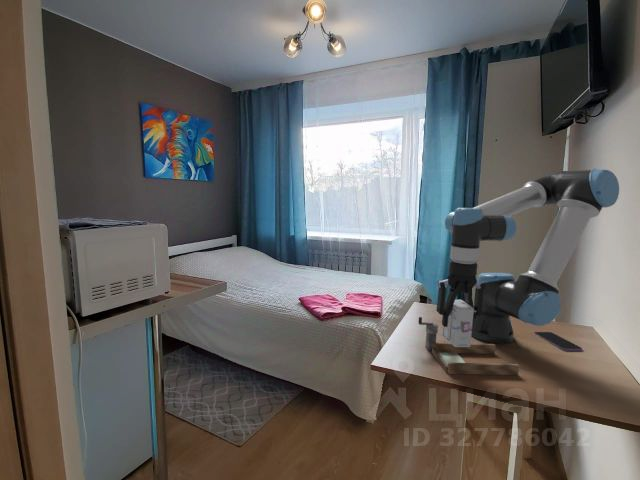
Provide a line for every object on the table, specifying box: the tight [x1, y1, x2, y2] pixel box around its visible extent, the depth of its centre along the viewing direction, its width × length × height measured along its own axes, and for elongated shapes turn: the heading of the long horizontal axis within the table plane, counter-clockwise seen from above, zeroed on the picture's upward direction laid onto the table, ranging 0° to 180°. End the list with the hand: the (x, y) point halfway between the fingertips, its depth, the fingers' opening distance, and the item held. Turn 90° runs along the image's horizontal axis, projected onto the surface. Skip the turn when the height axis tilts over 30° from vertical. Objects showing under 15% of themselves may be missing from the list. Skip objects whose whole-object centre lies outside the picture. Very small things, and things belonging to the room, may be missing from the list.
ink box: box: [442, 299, 474, 347], centre depth 101 cm, size 9×5×12 cm, turn 4°
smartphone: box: [533, 331, 583, 352], centre depth 121 cm, size 7×1×15 cm
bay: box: [417, 316, 520, 376], centre depth 104 cm, size 24×17×11 cm
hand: (456, 336), depth 102 cm, fingers closed on ink box, 5 cm apart
